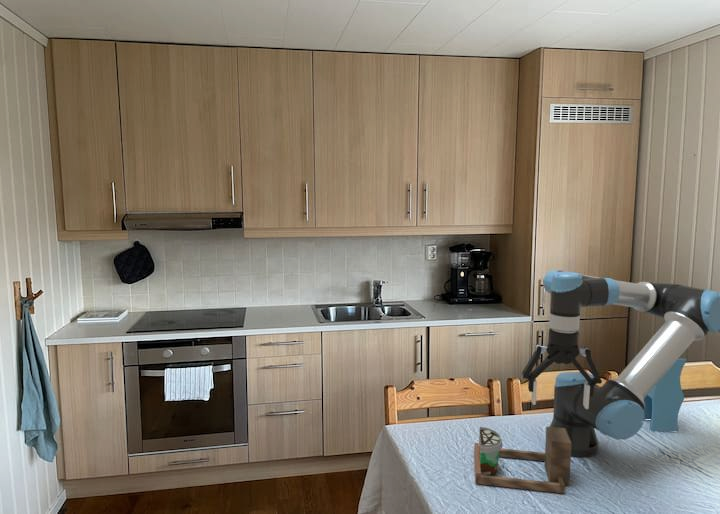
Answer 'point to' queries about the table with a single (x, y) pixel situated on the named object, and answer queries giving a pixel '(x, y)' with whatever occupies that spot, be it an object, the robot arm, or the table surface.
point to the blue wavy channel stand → (665, 400)
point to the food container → (489, 451)
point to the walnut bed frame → (554, 458)
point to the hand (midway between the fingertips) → (559, 405)
